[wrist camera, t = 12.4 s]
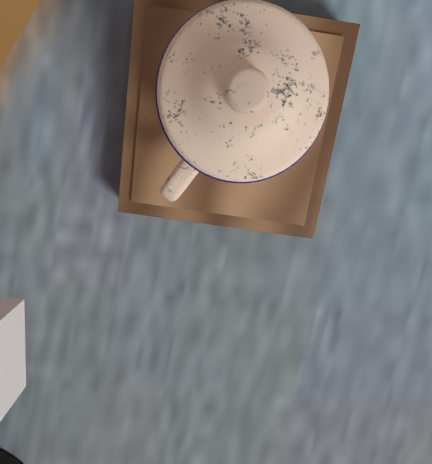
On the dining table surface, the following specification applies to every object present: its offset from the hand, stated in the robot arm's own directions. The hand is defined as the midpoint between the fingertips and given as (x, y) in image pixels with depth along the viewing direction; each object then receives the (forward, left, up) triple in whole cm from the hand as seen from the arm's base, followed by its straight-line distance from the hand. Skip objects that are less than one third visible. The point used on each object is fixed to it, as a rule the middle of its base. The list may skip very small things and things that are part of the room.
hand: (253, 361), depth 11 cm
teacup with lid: (-2, +7, -20) cm, 21 cm away
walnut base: (-1, +7, -23) cm, 24 cm away
